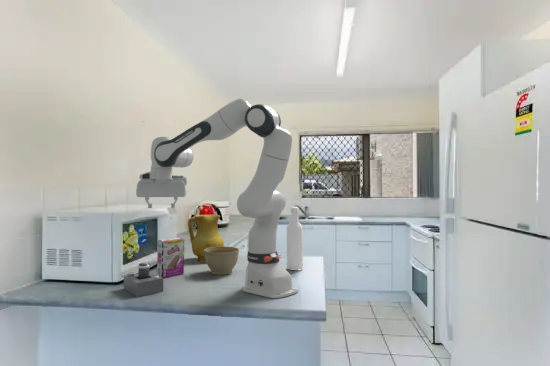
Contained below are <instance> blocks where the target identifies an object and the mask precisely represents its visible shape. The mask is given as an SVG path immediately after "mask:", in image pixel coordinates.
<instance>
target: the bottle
mask: <svg viewBox="0 0 550 366" xmlns="http://www.w3.org/2000/svg"><path fill="white" fill-rule="evenodd" d="M299 210H300V209H299V207H298V206H291V207H290V222H289V223H288V224H287V226H286V270H287V269H291V270H298V269H302V268H303V267H304V262H303V261H304V254H303V252H304V251H303V250H304V245H303V243H304V242H303V241H304V240H303V239H304V238H303V237H304V236H303V226H302V224H301V223H300V222H299ZM303 269H304V268H303ZM303 269H302V270H303Z"/></svg>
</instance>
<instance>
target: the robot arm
mask: <svg viewBox="0 0 550 366" xmlns="http://www.w3.org/2000/svg"><path fill="white" fill-rule="evenodd" d="M281 123H282V120H281V116H280V114H279V113H278V112H277V111H276V110H275V109H273V108H272V107H270V106H268V105H265V104H261V103H260V104H259V103H258V104H253V105H251V104H250V103H249V102H248V101H247V100H246V99H243V98H238V99H235V100H232V101H230V102H229V103H227V104H225V105H224V106H223V107H221V108H220V109H219V110H217V111H216V112H214V113H212V115H210V116H208V117H206V119H203V120H201V121H200V122H198V123H196V124H194V125H193V126H191V127H189V128H188V129H186V130H185V131H183V132H182V133H180V134H178V135H176V136H175V137H172V138H170V137H168V136H160V137H155V138H154V139H153V140H152V142H151V146H150V147H151V148H150V161H151V166H150V171H147V172H145V173H140V175H139V177H138V178H139V180H138V182H137V184H136V190H135V191H136V192H135V193H136V197H138V198H144V199H145V202H146V203H147V209H152V208H153V203H150V201H149V200H150V198H173V200H174V201H173V203H171V204H170V208H173V209H175V208H176V203H177V201H178V198H185V196H187V189H186V186H187V183H188V181H187V177H185V176H184V175H173V168H182V169H183V168H187V167H189V166H190V165H191V164H192V163H193V160H194V152H193V150H192V147H193V146H194V145H196V144H198V143H202V142H206V141H222V140H225V139H227V138H229V137H232V136H233V135H234V134H236V133H237V132H238V131H240V130H241V129H243V128H245V127H247V128H248V130H250V131H251V132H253V133H254V134H256V135H257V136H258V137H260V138H263V147H262V149H261V152H260V153H261V154H260V158H259V161H258V165H257V168H256V171H255V172H254V175H253V177H252V178H251V179H252V180H251V181H250V182H249V184H248V186H247V187H246V188H245V190H244V191H243V192H241V193H240V195H239V196H238V197H237V200H236V207H237V210H238V212H239V214H240V215H242V216H243V217H247V218H249V219H254V222H253V225H252V226H251V228H249V229H250V230H249V232H248V251H247V255H246V257H247V266H246V269H245V280H244V286H243V287H242V292H244V293H249V294H251V295H252V294H253V295H256V296H257V295H258V296H261V297H265V298H269V299H279V298H284V297H285V298H286V297H288V296H293V295H295V294H297V293H298V292H299V288H298V287H296V286H293V281H292V275H291V274H290V273H289V271H288V270H287V268H285V267H284V265H282V264H281V262H280V259H281V258H282V257H281V256H282V255H281V254H279V253H278V251H277V233H278V232H277V231H278V225H279V221H280V218H281V214H282V212H283V211H284V209H285V207H286V205H287V204H286V202H287V201H286V197H285V196H284V194H283V193H282V192H280V191H278V190H276V189H277V188H278V185H280V183H281V182H282V181H283V180H284V177H285V174H286V170H287V167H288V165H289V164H288V163H289V160H290V157H291V151H292V144H293V137H292V134H291V133H290V132H289V131H288V130H287V129H284V128H281Z"/></svg>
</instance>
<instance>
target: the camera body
mask: <svg viewBox="0 0 550 366" xmlns="http://www.w3.org/2000/svg"><path fill="white" fill-rule="evenodd" d="M123 289H124V290H125V291H127V292H129V293H130V294H132V295H133V296H135V297H137V298H139V297H143V296H147V295H152V294H157V293H162V292H164V278H161V277H159V276H157V274H155V273H152V272H151V271H149V278H146V279H140V280H139V279H138V273H133V272H127V275H123Z"/></svg>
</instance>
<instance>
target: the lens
mask: <svg viewBox="0 0 550 366" xmlns="http://www.w3.org/2000/svg"><path fill="white" fill-rule="evenodd" d="M150 267H151V265H150V262H140V263H138V269H137V270H138V271H137V272H138V273H137V274H138V279H139V280H140V279H146V278H149V272H150V269H151V268H150Z"/></svg>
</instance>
